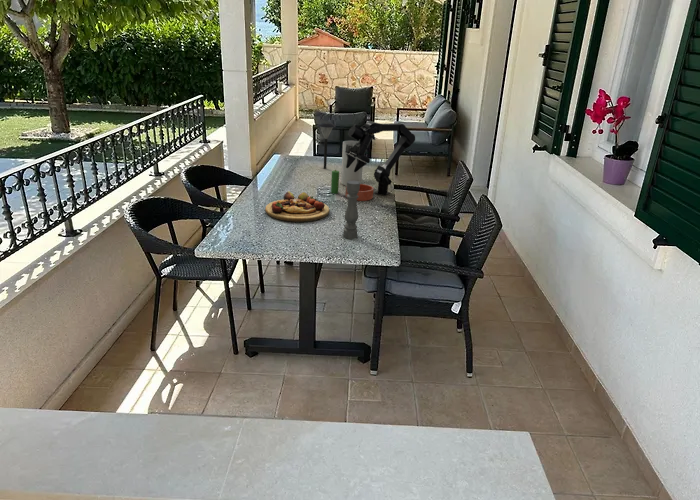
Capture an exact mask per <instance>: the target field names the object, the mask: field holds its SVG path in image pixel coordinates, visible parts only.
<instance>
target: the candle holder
mask: <svg viewBox="0 0 700 500" xmlns="http://www.w3.org/2000/svg"><path fill="white" fill-rule="evenodd" d="M359 190H360V182H358V181H347V192H348V195H347V197H346V198H347V206H346V210H345V213H344V220H345V224H344V228H343V235H342V236H343V238H344V239H347V240H355V239H357V238H358V225H357V224H356V223H357V221H358V220H359V213H358V207H357V203H358V201H357V198H358V197H359V196H358V195H357V194H358V192H359Z"/></svg>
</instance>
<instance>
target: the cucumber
mask: <svg viewBox="0 0 700 500" xmlns="http://www.w3.org/2000/svg"><path fill="white" fill-rule="evenodd" d="M330 180H331V182H330V194H334V195H337V194H339V186H340V171H339V170H337V169H333V170H331V179H330Z"/></svg>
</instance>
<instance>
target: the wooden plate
mask: <svg viewBox="0 0 700 500" xmlns="http://www.w3.org/2000/svg"><path fill="white" fill-rule="evenodd" d="M264 210H265V213H266V214H267V215H268V216H269V217H272V218H274V219H277V220H281V221H285V222H311V221H312V222H313V221H318V220H321V219H323V218H326V217H327V216H328V215H329V214H330V207H329V206H328V205H327V204H325V202H324V201H319V200H318V199H317V198H314V196H313V195H309V194H308V193H306V192H305V191H303V192H301V193H300V194H298V196H297V198H295V195H294V194H293V192H292V191H290V190H288V191H286V192H285V193H284V195H283V199H278V200H274V201H271V202H269V203H267V204H266V206H265V209H264Z"/></svg>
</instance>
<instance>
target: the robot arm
mask: <svg viewBox="0 0 700 500" xmlns="http://www.w3.org/2000/svg"><path fill="white" fill-rule="evenodd" d="M382 132H397V133H398V135H399V139H398V143H397V145H396V147H395V148H393V149H394V150H393V151H392V152H391V153H390V155H389V156H388V158H387V159H386V161H385V162H384V164H381V165H380V164H379V165H378V166H377V167H376V168H375V169H374V172H373V177H374V179H375V182H376V183H377V184H378V185H377V191H375V193H374V194H375V195H381V196H387V195H389V194H390V193H391V192H390V191H389V186H390V185H391V184H392V182H393V181H392V180H391V178H390V175H391V171H392V168H393V167H394V166H395V164H396V163H397V162H398V160H399V159H400V157H401V156H402V154H403V153H404V152H405V150H406V149H409V147H411V146H412V145H413V144H414V143H415V141H416V135H415V134H414V133H412V131H410V130H409V129H408V128H407V126H406V125H405V124H404V123H401V122H397V123H395V122H394V123H393V122H392V123H389V122H388V123H379V122H375V121H372V120H371V121H369V120H368V121H366V123H365V124H364V125H362V126H359V125H357V124H356V123H355V124H353V126H351V127H350V128H349V129H348V132H347V135H348V137H350V138H352V139H353V140H355V141H359V142H358V143H356V144H355V145H354V144H353V145H352V144H346V151H345V152H346V153H347V154H346V155H347V164H346V168H349V166H350V165H351V164H352V163H353V162H354V160H355V159H356V158H354V157H358V158H359V159H357V164H356V167H355V169H354V172H357V171H358V170H359V169H360V168H362V167H364V166H366V165H368V164H370V162H371V158H370V157H368V156H366V155H365V154H366V151H369V146H370V144H371V141H372V140H373V141H375V140H376V137H375V134H379V133H382Z"/></svg>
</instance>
